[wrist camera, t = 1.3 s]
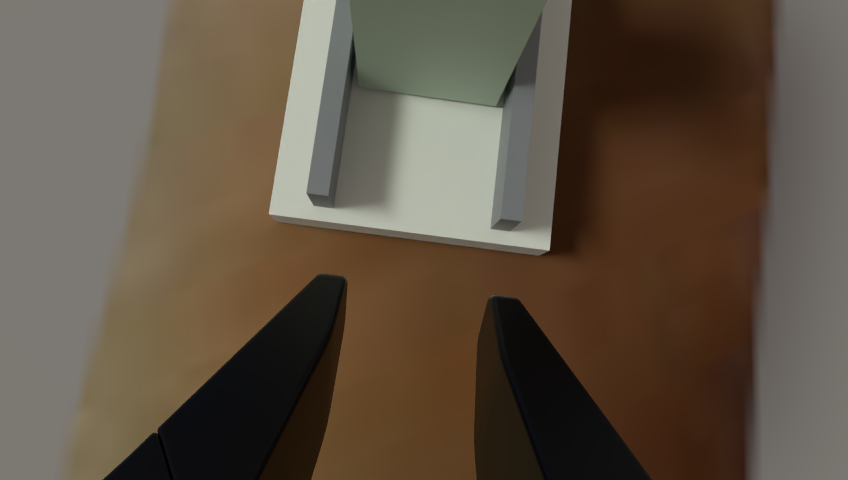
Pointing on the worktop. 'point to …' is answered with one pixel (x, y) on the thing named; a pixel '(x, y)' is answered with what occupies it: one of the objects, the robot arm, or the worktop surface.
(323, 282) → the robot arm
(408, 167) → the housing
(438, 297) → the worktop surface
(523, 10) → the block
